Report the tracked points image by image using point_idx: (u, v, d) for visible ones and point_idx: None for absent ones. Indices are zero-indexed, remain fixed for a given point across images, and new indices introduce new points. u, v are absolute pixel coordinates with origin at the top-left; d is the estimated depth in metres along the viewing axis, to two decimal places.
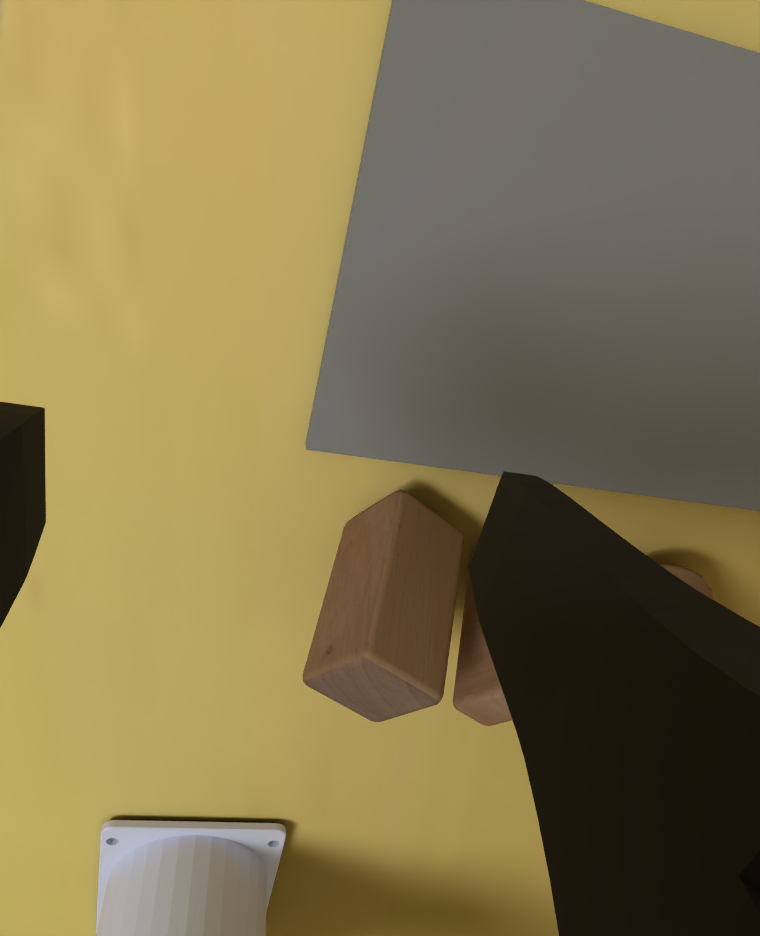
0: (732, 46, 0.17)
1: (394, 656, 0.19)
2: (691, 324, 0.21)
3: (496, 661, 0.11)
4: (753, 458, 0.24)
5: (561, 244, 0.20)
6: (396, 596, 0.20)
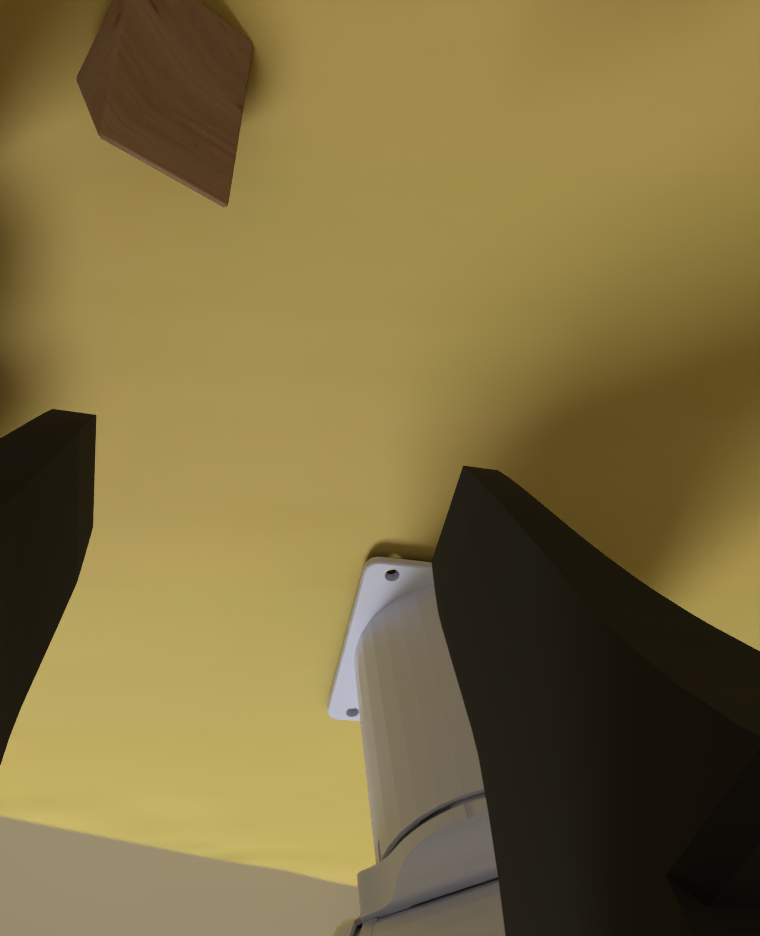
0: None
1: None
2: None
3: (455, 658, 0.11)
4: None
5: None
6: None
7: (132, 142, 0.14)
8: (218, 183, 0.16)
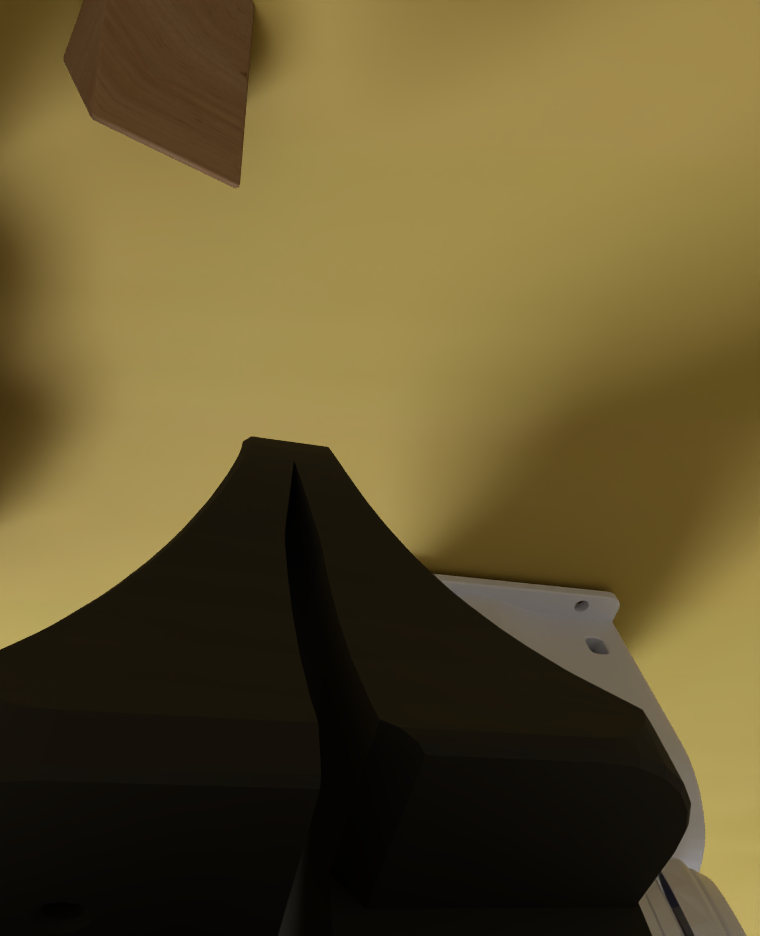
0: None
1: None
2: None
3: None
4: None
5: None
6: None
7: (128, 122, 0.13)
8: (227, 162, 0.14)
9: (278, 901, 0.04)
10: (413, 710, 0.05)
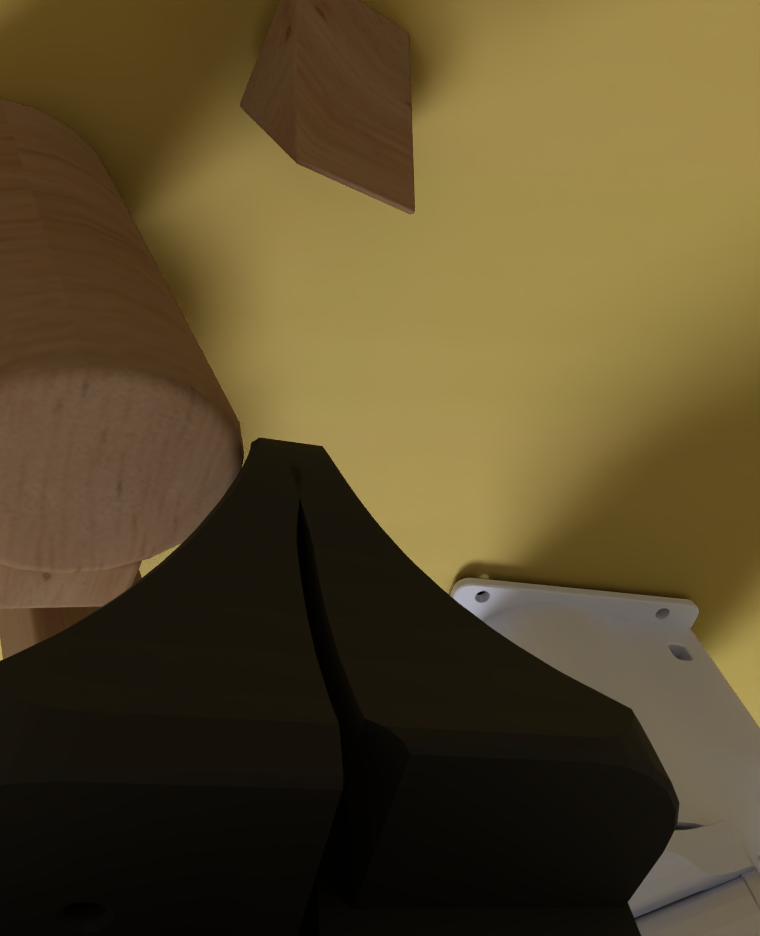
0: None
1: None
2: None
3: None
4: None
5: None
6: None
7: (325, 162, 0.14)
8: (404, 190, 0.15)
9: (298, 900, 0.04)
10: (400, 709, 0.05)
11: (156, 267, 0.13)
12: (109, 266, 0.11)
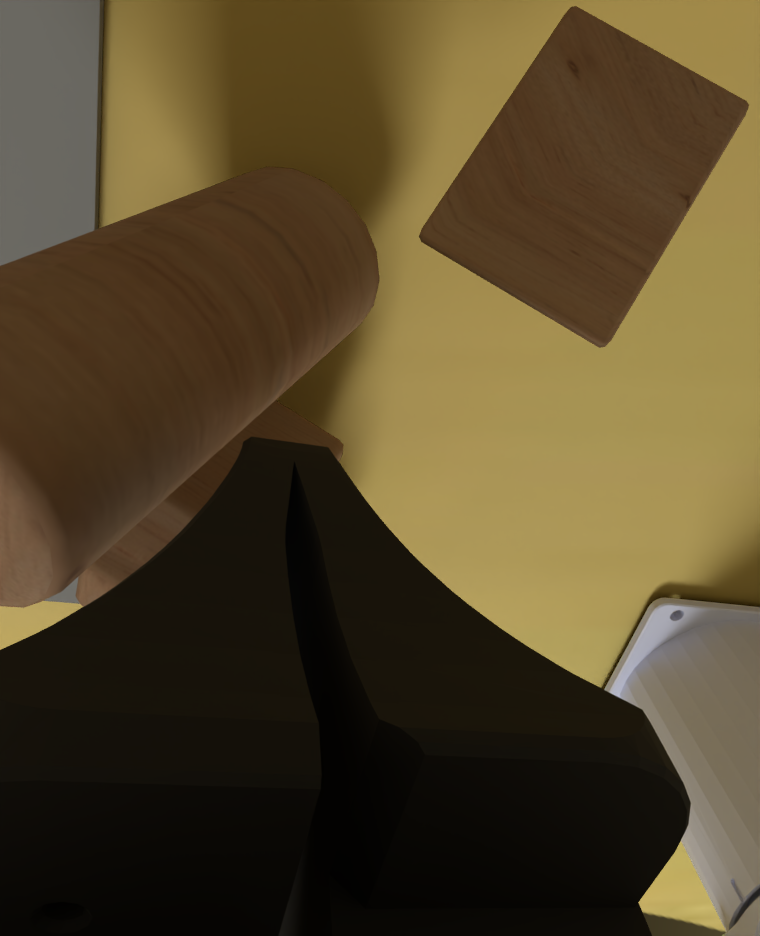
0: None
1: None
2: None
3: None
4: None
5: None
6: None
7: (465, 247, 0.10)
8: (598, 311, 0.10)
9: (279, 902, 0.04)
10: (413, 708, 0.05)
11: (237, 328, 0.11)
12: (91, 294, 0.10)
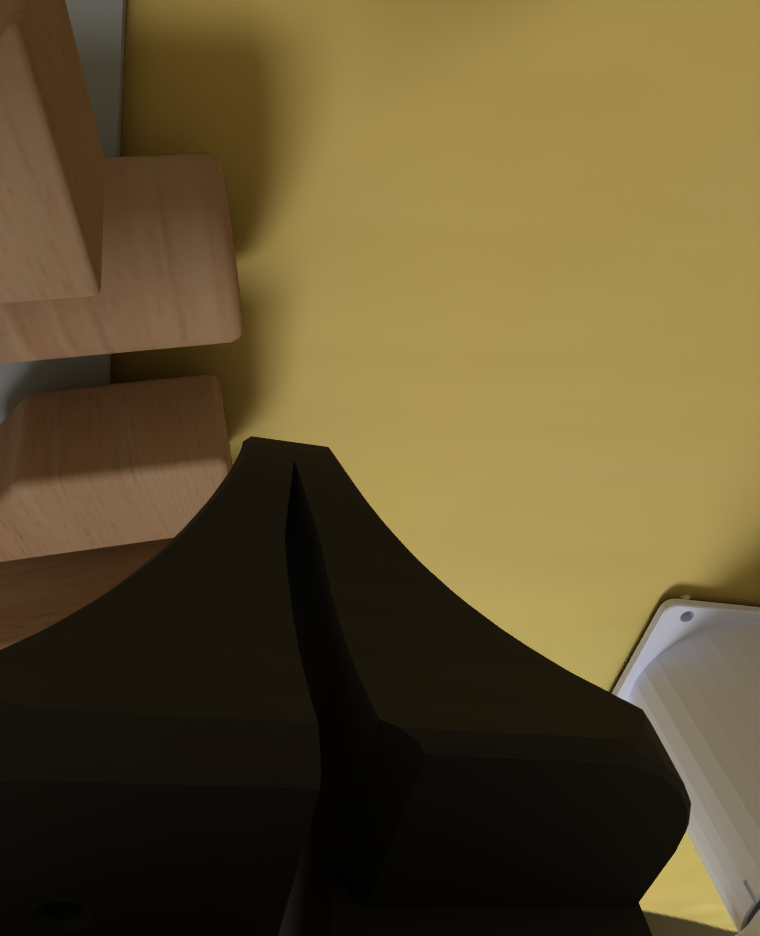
0: None
1: None
2: None
3: None
4: None
5: None
6: None
7: None
8: None
9: (278, 901, 0.04)
10: (415, 710, 0.05)
11: None
12: None
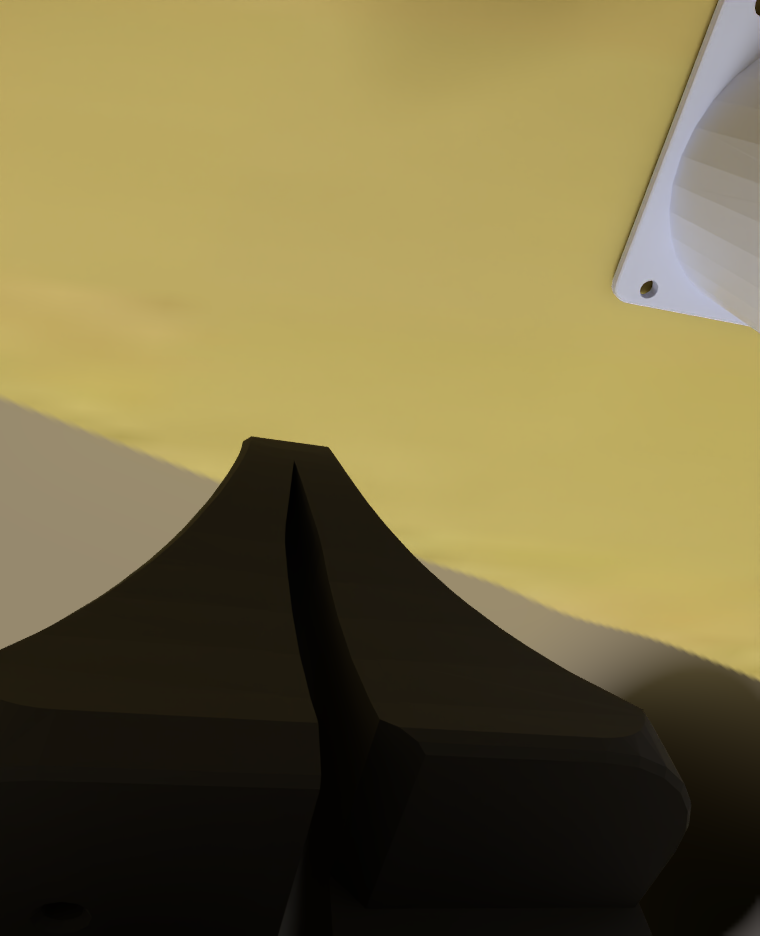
0: None
1: None
2: None
3: None
4: None
5: None
6: None
7: None
8: None
9: (278, 901, 0.04)
10: (413, 710, 0.05)
11: None
12: None
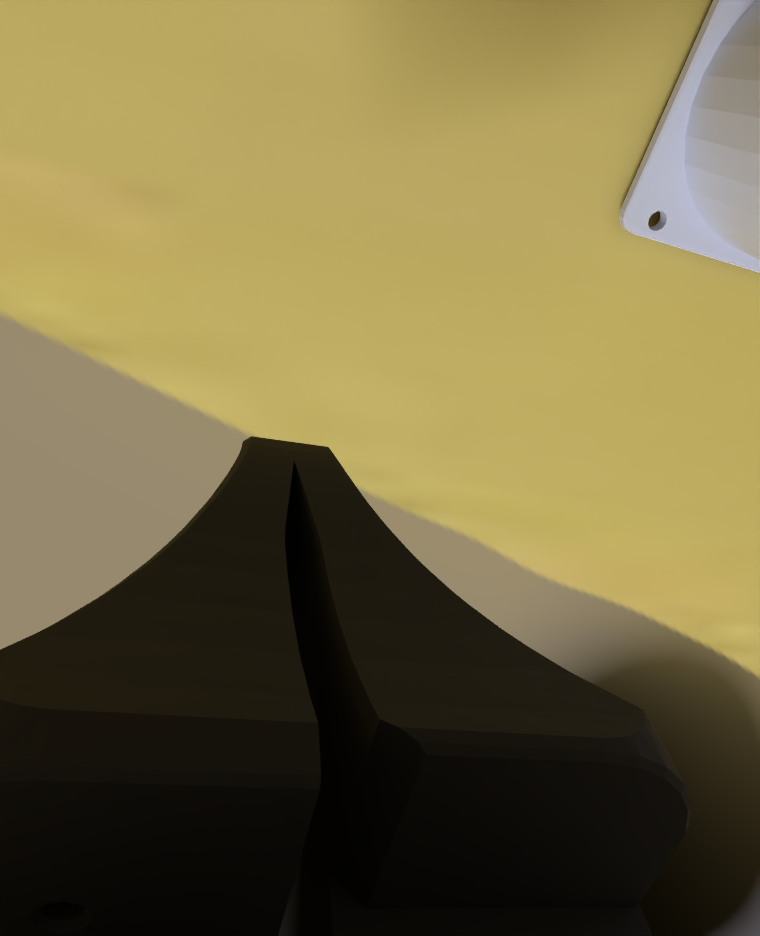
0: None
1: None
2: None
3: None
4: None
5: None
6: None
7: None
8: None
9: (278, 901, 0.04)
10: (413, 709, 0.05)
11: None
12: None
